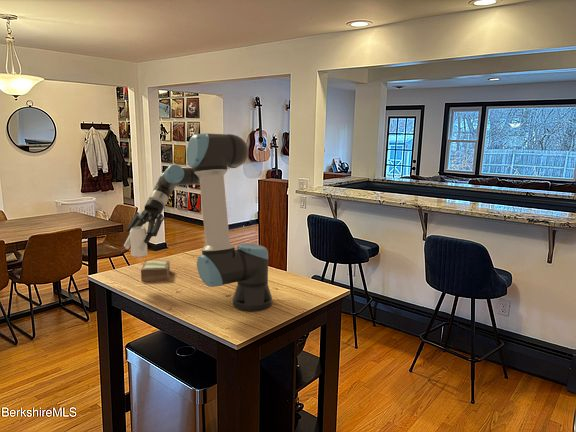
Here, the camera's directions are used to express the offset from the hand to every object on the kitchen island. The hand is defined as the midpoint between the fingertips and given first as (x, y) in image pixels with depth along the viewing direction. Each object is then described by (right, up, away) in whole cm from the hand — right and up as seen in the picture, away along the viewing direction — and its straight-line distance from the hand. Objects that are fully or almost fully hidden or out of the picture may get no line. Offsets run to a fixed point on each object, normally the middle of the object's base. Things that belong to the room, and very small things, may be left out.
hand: (133, 248), depth 170 cm
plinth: (+3, -14, +20) cm, 25 cm away
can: (+1, -3, +4) cm, 6 cm away
